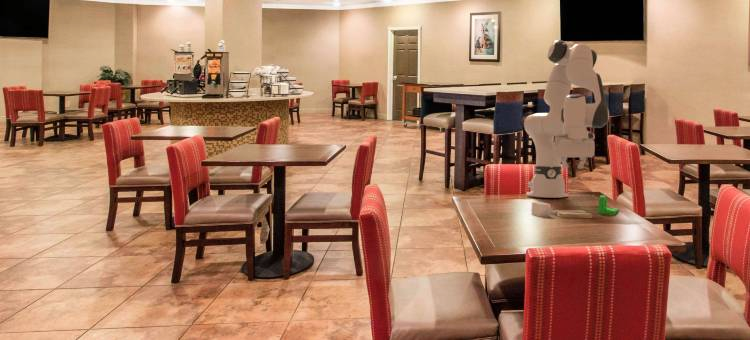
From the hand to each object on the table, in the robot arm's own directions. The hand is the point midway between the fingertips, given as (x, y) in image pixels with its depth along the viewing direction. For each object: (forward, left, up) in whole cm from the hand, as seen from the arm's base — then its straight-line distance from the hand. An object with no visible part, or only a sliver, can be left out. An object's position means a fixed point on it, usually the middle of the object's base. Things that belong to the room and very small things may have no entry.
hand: (573, 168), depth 249 cm
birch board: (0, 0, -19) cm, 19 cm away
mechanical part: (-8, +18, -20) cm, 28 cm away
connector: (0, -13, -19) cm, 23 cm away
